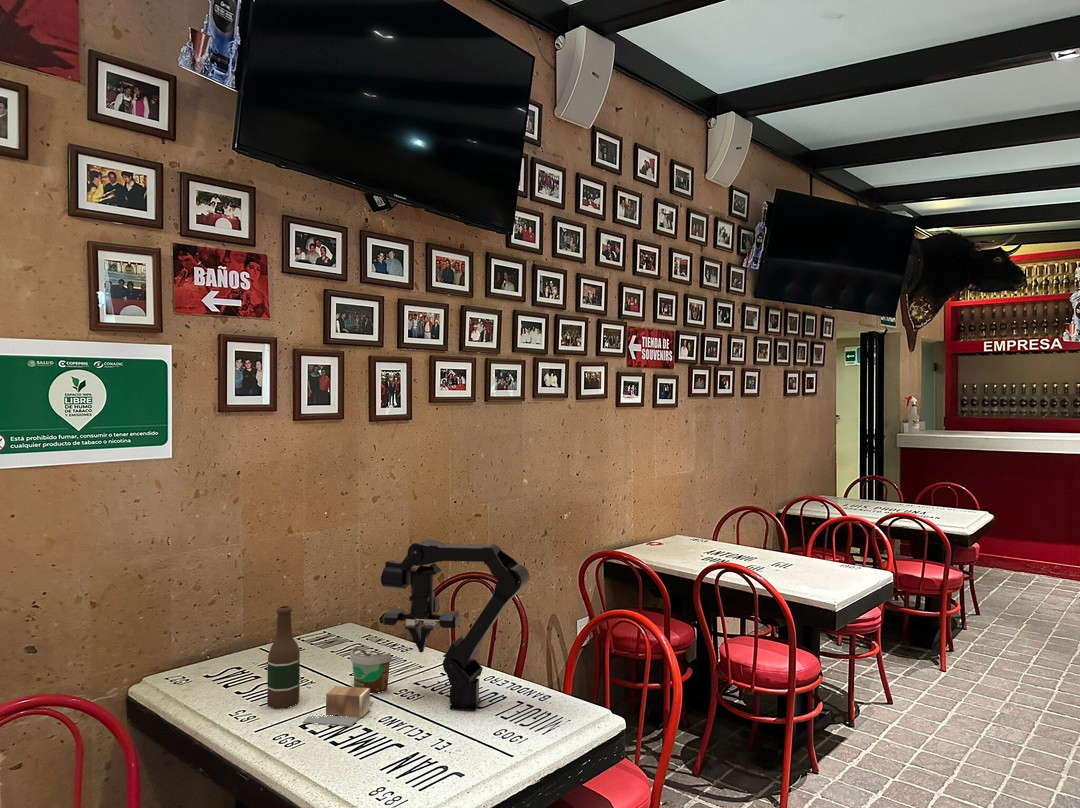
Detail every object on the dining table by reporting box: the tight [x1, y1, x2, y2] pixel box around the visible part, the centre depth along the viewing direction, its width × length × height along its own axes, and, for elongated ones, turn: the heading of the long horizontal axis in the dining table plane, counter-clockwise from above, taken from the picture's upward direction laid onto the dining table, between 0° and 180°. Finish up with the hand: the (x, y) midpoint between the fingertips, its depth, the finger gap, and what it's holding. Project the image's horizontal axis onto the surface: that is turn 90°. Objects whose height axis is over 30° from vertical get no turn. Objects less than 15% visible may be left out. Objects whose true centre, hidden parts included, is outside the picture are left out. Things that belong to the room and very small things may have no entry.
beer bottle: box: [266, 605, 301, 709], centre depth 182 cm, size 8×8×24 cm
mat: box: [302, 700, 375, 728], centre depth 177 cm, size 12×14×1 cm
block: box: [325, 685, 371, 718], centre depth 177 cm, size 5×5×9 cm
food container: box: [349, 645, 393, 694], centre depth 191 cm, size 12×6×10 cm, turn 62°
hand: (421, 651), depth 185 cm, fingers closed
